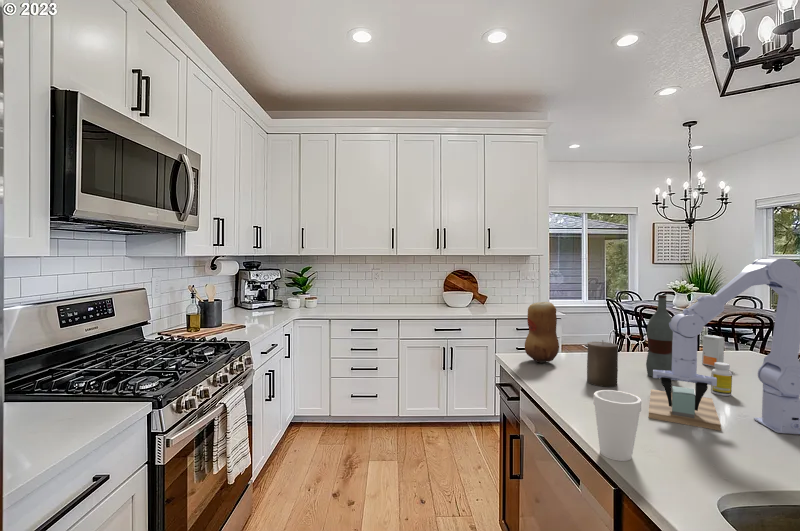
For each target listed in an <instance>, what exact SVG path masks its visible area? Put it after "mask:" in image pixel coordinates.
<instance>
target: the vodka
mask: <svg viewBox="0 0 800 531" xmlns="http://www.w3.org/2000/svg"><path fill="white" fill-rule="evenodd" d="M657 296H658V298H657V300H658V302H657V310H656V311H655V313H654V314H653V315H652V316H651V317H650V319H649V320H648V323H647V328H646V333H647V334H646V335H647V350H648V351H647V354H646V362H645V366H646V373H647V376H649V377H650V376H652V377H651V378H653V370H665V371H672V340H673V331H672V330H671V328H670V326H669V322H671V319H672V318H673V317H672V316H671V315H670V313H669V311H668V310H667V295H666V294H658V295H657ZM659 380H661V378H660V379H659Z"/></svg>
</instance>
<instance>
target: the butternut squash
mask: <svg viewBox="0 0 800 531" xmlns="http://www.w3.org/2000/svg"><path fill="white" fill-rule="evenodd" d="M557 321H558V320H557V308H556V306H555V305H554V304H553V303H552V302H550V301H540V302H539V301H538V302H535V303H534V302H533V303H531V304H530V305H529V306H528V308H527V326H528V329H529V330H528V334H527V336H526V337H525V341H524V351H525V353H526V355H527V356H528V357H530V358H531V359H532V360H533V361H535V362H537V363H540V364H541V363H543V364H544V363H549V362H552V361H553V360H554V359H556V357H557V355H558V353H559V350H560V344H559V338H558V336H557V325H558V324H557Z"/></svg>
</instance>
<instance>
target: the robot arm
mask: <svg viewBox="0 0 800 531" xmlns="http://www.w3.org/2000/svg"><path fill="white" fill-rule="evenodd" d="M761 285H766V286H768V287H769V288H771V290H773V291H774V292H775V293H776V294H777V295H778V297H777V305H776V310H775V317H774V318H775V319H774V327H773V332H772V339H771V340H772V341H771V347H770V352H769V353H768V354H767V355H765V357H764V358H763V360H762V361H763V363H762V365H761V366H760V367H759V369H758V370H757V378H758V380H759V381H760V382H761V383H762V402H761V403H762V405H761V417H756V416H755V417H753V420H755V421H756V422H758V423H759V424H761V425H763V426H765V427H766V428H768V429H770V430H772V431H773V432H775V433H778V434H788V435H789V434H791V435H792V434H793V435H800V360H799V352H800V266H799V265H798V264H797V263H795V262H794V261H793V260H791V259H789V258H767V257H760V258H757V259H755V260H754V261H752V263H750V264H748V265H746V266H745V267H744V268H743V269H742V270H741V271H740V272H739V273H738V274H737V275H735V276H734V277H733V278H732V279H730V280H729V282H727V283H726V284H725V285H723V286H722V287H721V288H720V289H719V290H718V291H717V292H716V293H714V294H705V295H704V296H702V295H700V296H698V297H697V298H696V300H697V301H696V302H694V303H693V304H692V305H690V306H689V307H688V308H684V309H682V312H683V313H677V314H675V315H673V317H671V318H672V319H671V322H669V326H670V328H671V330H672V331H673V340H672V371H665V370H653V377H652V378H653V379H658V378H661V379H660V382H661V385H662V386H663V389H664V391H665V392H666V394H667V398H668V402H669V406H671V407H672V398H671V392H672V386H673V385H672V381H679V382H687V383H692V384H694V383H695V384H694V385H695V387H694V393H695V411H698V406H699V403H700V401H701V399H702V397H704V395H705V394H706V392H707V390H708V387H709V385H710V386H711V385H712V386H717V378H716V377H711V376H710V375H702V374H697V371H698V370H697V365H698V335H700V334H701V333H702V332H703V329H704V327H705V326H706V325H707V324H708V323H710V322H712V321H713V320H714V319H715V318H716V317H718V316H719V315H720V314H722V313H723V312H724V311H725V306H726V304H727V303H730V302H731V300H733V299H735V298H736V297H737V296H739V295H740V294H742V293H744V292H745V291H747V290H748V289H750V288H751V287H754V286H761Z"/></svg>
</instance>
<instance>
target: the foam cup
mask: <svg viewBox="0 0 800 531" xmlns="http://www.w3.org/2000/svg"><path fill="white" fill-rule="evenodd" d="M593 405H594V412H595V418H596V419H595V420H596V427H597V437H598V447H599V452H600V454H601V455H602V456H604V457H605V458H608V459H610V460H613V461H619V462H627V461H631V459H632V458H633V453H634V449H635V441H636V438H637V436H636V435H637V431H638V425H639V420H640V412H641V411H642V399H641V398H640V397H639V396H637V395H636V394H633V393H630V392H626V391H621V390H615V389H614V390H613V389H602V390H596V391H595V392H594V393H593Z"/></svg>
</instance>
